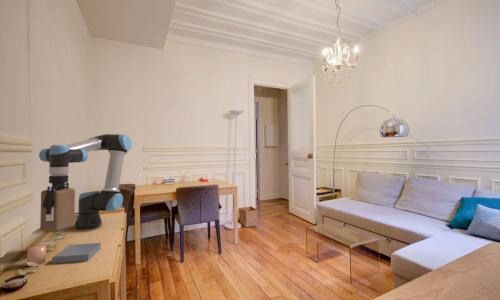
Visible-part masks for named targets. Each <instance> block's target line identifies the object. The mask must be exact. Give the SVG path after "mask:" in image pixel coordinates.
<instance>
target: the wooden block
mask: <svg viewBox="0 0 500 300" xmlns="http://www.w3.org/2000/svg"><path fill="white" fill-rule="evenodd" d="M46 193H47V189H44V190H42V191H41V192H40V222H39V223H40V227H39V228H40V230H41V231H44V232H52V233H57V232H60V231H62V230H66V229H69V228H72V227H75V222H76V219H75V217H76V190H75V188H71V187H69V188H65V189H62V190H57V191H54V195H53V198H52V199H53V200H54V204H53V207H54V218H53V221H46V208H43V203H44V200H45V196H46Z"/></svg>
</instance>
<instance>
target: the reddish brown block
mask: <svg viewBox="0 0 500 300" xmlns="http://www.w3.org/2000/svg"><path fill="white" fill-rule="evenodd" d="M46 256H47V245H46V244H39V245H32V246H31V247H28V249H27V260H26V263H27V262H34V263H37V264H39V265H38V266H40V265H43V264H45V263H46V261H47V259H46V258H47V257H46Z"/></svg>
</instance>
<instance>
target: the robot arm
mask: <svg viewBox="0 0 500 300" xmlns="http://www.w3.org/2000/svg"><path fill="white" fill-rule="evenodd" d="M132 142H133V141H132V140H131V138H130V137H129V135H127V134H121V133H120V134H118V133H115V134H114V133H113V134H111V133H107V134H101V135H97V136H93V137H92V136H91V137H89V138H88V139H87V140H82V141H79V142H74V143H71V144H52V145H50V147H48V148H42V149H41V150H40V151H39V153H38V157H39V159H40V161H42V162H44V163H45V162H46V163H49V168H48V171H49V173H48V174H49V176H48V183H49V184H51V186H47V188H46V190H47V193H46V196H45V200H44V203H43V208H46V221H53V218H54V207H53V204H54V200H53V199H52V198H53V195H54V191H57V190H62V189H65V188H70V187H69V171H70V170H69V168H70V167H69V164H70V163H74V164H75V163H84V162H86V161H87V160H88V158H89V153H88V152H92V151H93V152H96V151H97V152H98V151H108V153H109V159H108V165H107V170H106V175H105V180H104V187H103V189H101V190H93V191H85V192H82V193H80V194H79V195H78V215H77V218H76V219H75V222H74V226H73V228H74V229H77V230H87V229H93V228H97V227H100V226H101V225H103V224H102V223H103V221H102V217H101V215H100V212H115V211H118V210H119V209H120V208H121V206H122V205H123V202H124V196H123V194H122V193H121V190H120V189H119V188H120V182H121V176H122V170H123V163H124V157H125V156H126V155H127V154H128V151H131V150H132V145H133V144H132Z"/></svg>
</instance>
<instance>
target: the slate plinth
mask: <svg viewBox="0 0 500 300" xmlns="http://www.w3.org/2000/svg"><path fill="white" fill-rule="evenodd" d="M101 246H102V244H101V242H94V243H93V242H92V243H77V244H69V245H67V246H66V247H64V248H63V249H62V250H60V251H59V252H58V253H56V254H55V255H53V256H52V258H51V259H52V261H51V262H52V265H53V264H54V265H55V264H68V263H79V262H88V261H90V260H91V259H92V258H93V257H94V256H95V255H96V254H97V253H98V252H99V251H100V250H101V249H102V248H101Z"/></svg>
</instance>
